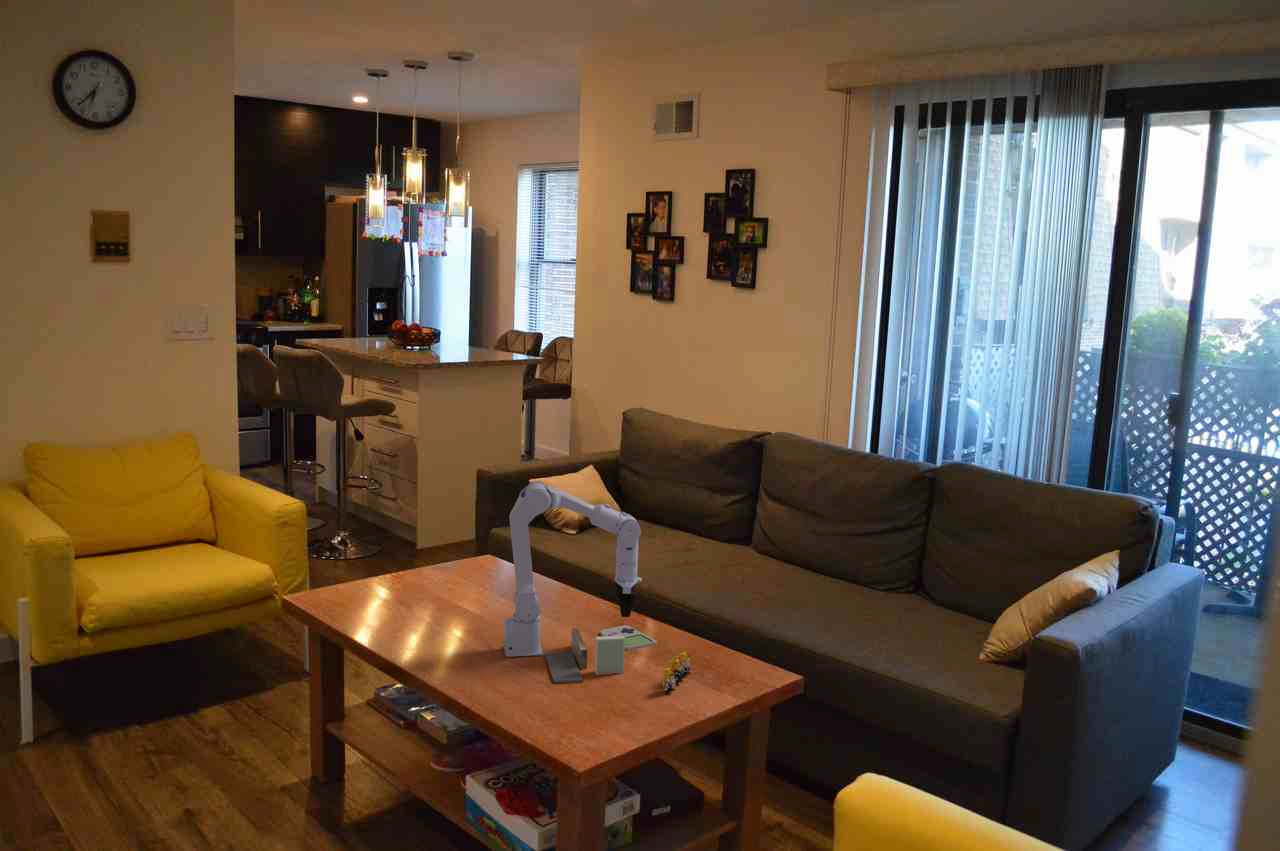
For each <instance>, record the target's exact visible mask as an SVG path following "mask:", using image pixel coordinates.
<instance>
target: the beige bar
mask: <svg viewBox="0 0 1280 851" xmlns="http://www.w3.org/2000/svg"><path fill="white" fill-rule="evenodd" d="M570 640H571V641H570V642H571V645H570V647H571V649H572V653H573V655H574V658H575V660H576V663H577V666H578V668H579V670H587V669H588V667H587V666H588V649H587V645H586V643H585V642H584V639H583V637H582V635H581V633H580V631H579V628H578V627H574V628H571V639H570Z"/></svg>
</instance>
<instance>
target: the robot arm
mask: <svg viewBox="0 0 1280 851" xmlns="http://www.w3.org/2000/svg"><path fill="white" fill-rule="evenodd" d="M518 495H519V496H518V498H517V500H516V501H515V503H514V506H513V507H512V509H511V511H510V514H509V526H510V535H511V536H510V538H511V546H512V548H511V549H512V556H513V557H512V558H513V567H514V577H515V594H514V596H513V604H514V608H515V611H514V613H513V614H512V617H510V618H504V621H503V622H504V623H503V640H502V644H503V645H502V646H503V650H504V653H505V656H506V657H508V658H509V657H530V656H543V655H544V653H543V649H542V646H541V615H540V613H541V606H540V604H539V598H538V594H537V593H536V591H535V585H534V574H533V566H532V564H533V562H532V553H531V544H530V532H529V524H530V523H531V522H532V521H533V519H534V518H535V517H537V516H538V515H539V516H540V515H541V514H543V513H544V512H546V511H548V510H549V508H551V510H556V509H559V508H564V509H567V510H569V511H572V512H574V513H577V514H579V515H582V516H585V517H587V518H589V521H590V523H591V525H593V526H596V527H598V528H599V529H603V530H605V531H607V532H609V533H611V534H617V536H616V537H617V538H616V539H617V543H616V554H615V555H616V556H615V557H616V558H615V576H614V584H615V585H616V587H617V589H615V595H616V598H617V600H618V604H619V612H620V616H621V618H630V617H631V613H632V608H633V605H634V602H635V599H636V598H637V596H638V591H633V590H634V589H635V586H636V584H637V583H641V582H642V577H639V576H638V566H639V565H638V564H639V563H638V562H639V538H640V537H641V534H642V530H641V526H640V524H639V522H638V521H637V520H636V518H635V517H633V515H631V514H630V513H626V512H625V511H622V512H620V511H618V510H616V509H613V508H611V505H610V504H608V503H605V504H602V503H599V504H595V505H592V504H590V503H588V502H587V501H584V500H583V499H580V498H578V497H576V496H574V495H572V494H569V493H568V492H565V491H563V490H561V489H559V488H557V487H555V486H552V485H549V484H547V485H545V483H542V482H541V481H533V482H530V483H529V484H528V485H526V486H525V487H524V488H523V489H522V490H521V491H520V493H519V494H518Z"/></svg>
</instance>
